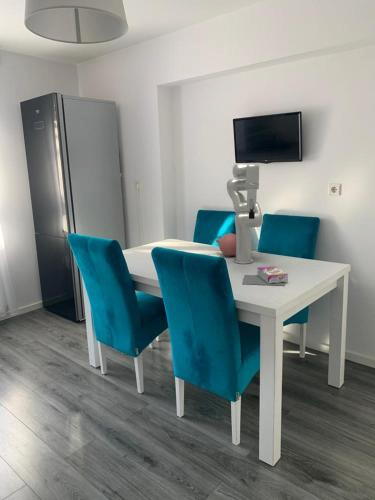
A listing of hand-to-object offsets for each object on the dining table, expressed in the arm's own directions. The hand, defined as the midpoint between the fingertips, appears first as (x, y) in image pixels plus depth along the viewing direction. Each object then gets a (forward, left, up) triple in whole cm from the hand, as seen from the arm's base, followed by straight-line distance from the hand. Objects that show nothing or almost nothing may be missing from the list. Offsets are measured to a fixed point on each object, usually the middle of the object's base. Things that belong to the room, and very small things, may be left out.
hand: (251, 218), depth 233 cm
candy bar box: (+10, +9, -28) cm, 31 cm away
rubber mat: (+20, +8, -31) cm, 38 cm away
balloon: (-36, -18, -31) cm, 51 cm away
